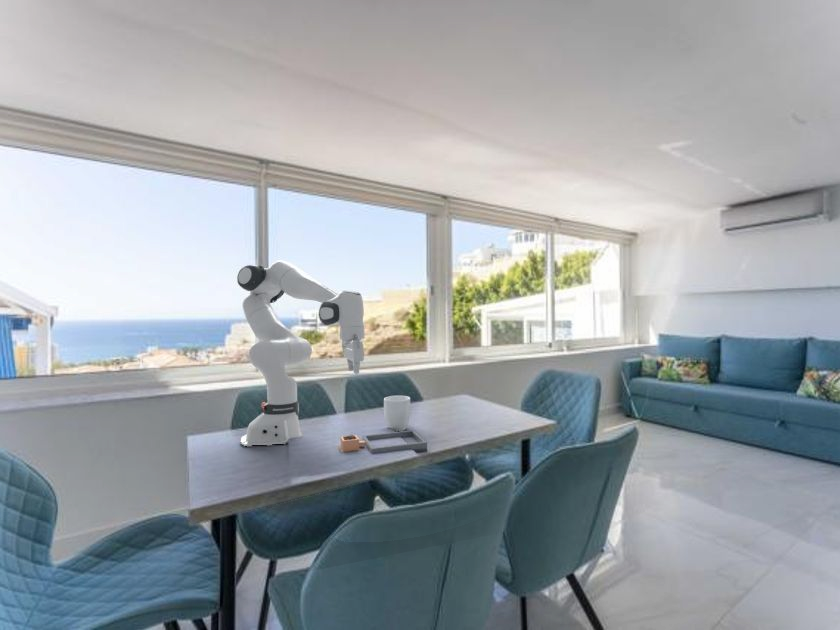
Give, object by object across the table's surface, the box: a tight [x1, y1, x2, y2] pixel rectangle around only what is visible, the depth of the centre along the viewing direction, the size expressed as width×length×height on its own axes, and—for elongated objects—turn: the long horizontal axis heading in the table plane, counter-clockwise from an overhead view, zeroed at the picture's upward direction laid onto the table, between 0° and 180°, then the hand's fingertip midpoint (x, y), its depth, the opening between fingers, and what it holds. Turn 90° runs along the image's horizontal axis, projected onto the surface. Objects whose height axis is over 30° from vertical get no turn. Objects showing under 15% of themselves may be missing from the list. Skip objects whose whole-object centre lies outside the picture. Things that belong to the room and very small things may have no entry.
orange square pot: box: [338, 433, 362, 453], centre depth 150 cm, size 7×7×6 cm
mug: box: [383, 395, 411, 432], centre depth 179 cm, size 15×11×13 cm
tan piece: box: [340, 434, 366, 453], centre depth 150 cm, size 8×6×4 cm
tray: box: [361, 429, 428, 454], centre depth 155 cm, size 20×16×3 cm
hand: (353, 371), depth 157 cm, fingers open, 8 cm apart
